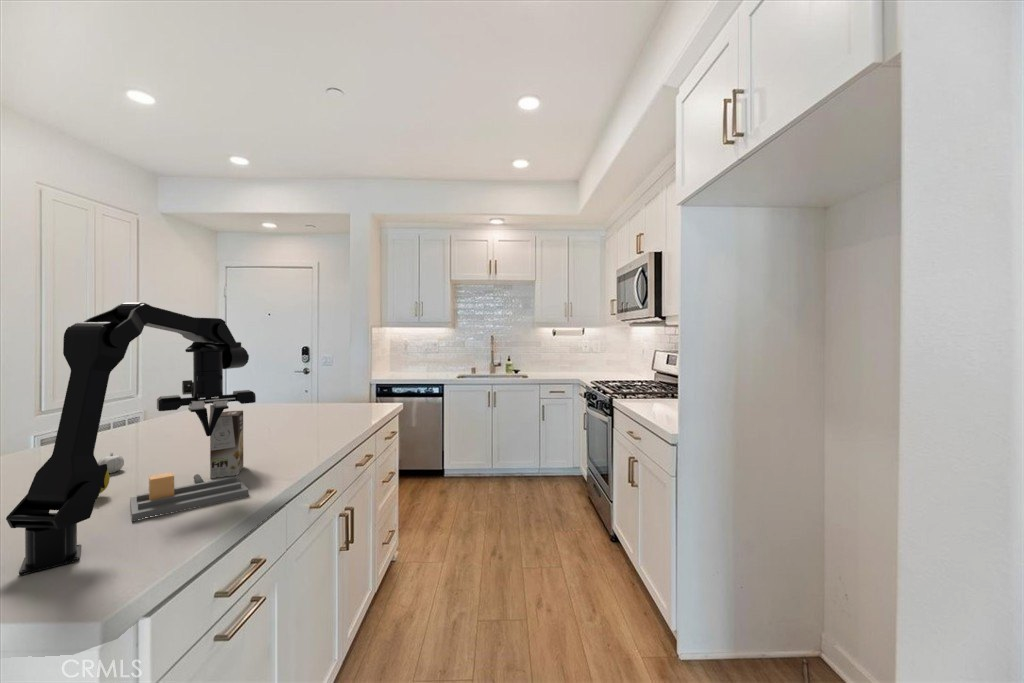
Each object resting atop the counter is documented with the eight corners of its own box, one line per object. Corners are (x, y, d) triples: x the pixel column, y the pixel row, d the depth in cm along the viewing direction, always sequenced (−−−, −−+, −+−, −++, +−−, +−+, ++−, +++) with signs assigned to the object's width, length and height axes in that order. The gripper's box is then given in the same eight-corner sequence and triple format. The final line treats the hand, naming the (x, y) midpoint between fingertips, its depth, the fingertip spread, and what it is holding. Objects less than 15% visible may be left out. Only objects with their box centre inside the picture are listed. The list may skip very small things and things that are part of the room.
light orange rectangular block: (174, 498, 92) (174, 475, 92) (150, 503, 89) (149, 479, 89) (172, 494, 94) (172, 472, 94) (149, 499, 91) (148, 476, 91)
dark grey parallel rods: (206, 489, 102) (206, 483, 102) (167, 497, 97) (167, 491, 97) (199, 478, 110) (199, 473, 110) (162, 485, 105) (162, 479, 105)
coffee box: (238, 475, 112) (238, 415, 112) (209, 479, 109) (209, 417, 109) (244, 466, 120) (243, 409, 120) (217, 469, 118) (216, 411, 118)
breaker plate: (248, 495, 98) (248, 485, 98) (132, 521, 84) (131, 509, 84) (237, 483, 106) (237, 473, 106) (130, 504, 92) (129, 493, 92)
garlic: (105, 470, 117) (105, 451, 117) (129, 468, 119) (129, 449, 119) (91, 476, 111) (91, 457, 111) (116, 474, 113) (116, 455, 113)
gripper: (245, 367, 114) (245, 425, 114) (154, 371, 101) (155, 436, 101) (256, 369, 105) (256, 431, 106) (158, 373, 93) (159, 445, 93)
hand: (208, 435), depth 101 cm, fingers closed
